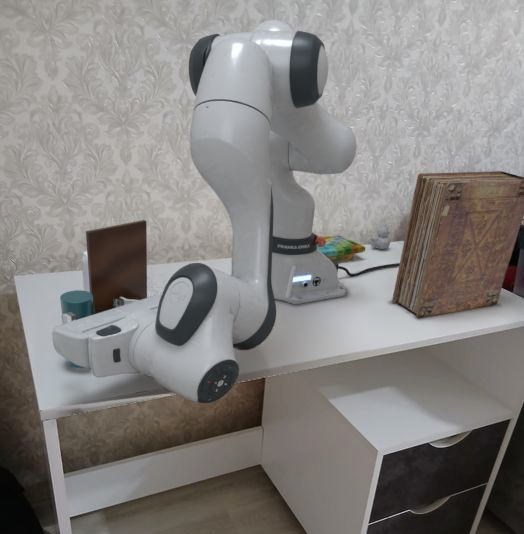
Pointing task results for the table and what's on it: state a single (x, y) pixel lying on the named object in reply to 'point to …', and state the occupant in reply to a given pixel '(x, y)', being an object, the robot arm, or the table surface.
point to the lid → (117, 263)
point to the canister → (77, 307)
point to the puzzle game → (340, 248)
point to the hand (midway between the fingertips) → (92, 309)
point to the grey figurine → (381, 238)
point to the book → (459, 241)
